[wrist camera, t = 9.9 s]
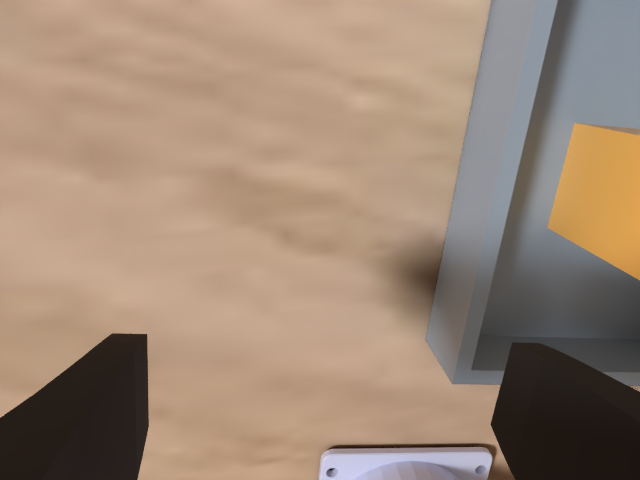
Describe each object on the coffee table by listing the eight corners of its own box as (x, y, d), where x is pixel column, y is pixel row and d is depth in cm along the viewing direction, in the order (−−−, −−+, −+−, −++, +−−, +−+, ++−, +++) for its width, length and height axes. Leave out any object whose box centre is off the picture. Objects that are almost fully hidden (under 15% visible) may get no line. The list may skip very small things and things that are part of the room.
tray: (640, 345, 22) (696, 386, 20) (425, 340, 21) (452, 384, 18) (775, -31, 17) (875, -48, 15) (506, -73, 16) (559, -102, 13)
